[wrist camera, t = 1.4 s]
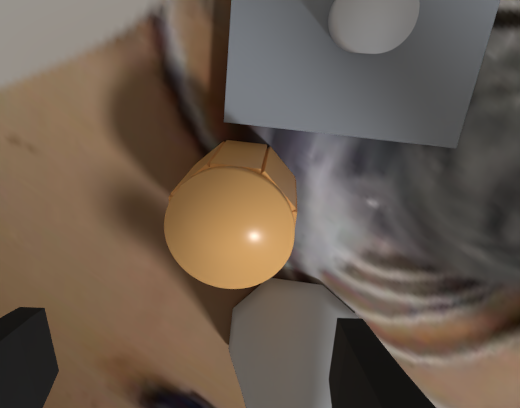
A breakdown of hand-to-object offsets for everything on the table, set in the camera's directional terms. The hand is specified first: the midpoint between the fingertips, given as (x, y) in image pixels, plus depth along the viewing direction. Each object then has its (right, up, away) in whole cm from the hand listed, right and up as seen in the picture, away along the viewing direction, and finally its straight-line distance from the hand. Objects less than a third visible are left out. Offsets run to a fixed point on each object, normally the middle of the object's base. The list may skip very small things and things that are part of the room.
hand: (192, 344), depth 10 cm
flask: (+3, -4, +12) cm, 13 cm away
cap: (+1, +4, +9) cm, 10 cm away
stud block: (+6, +11, +6) cm, 14 cm away
